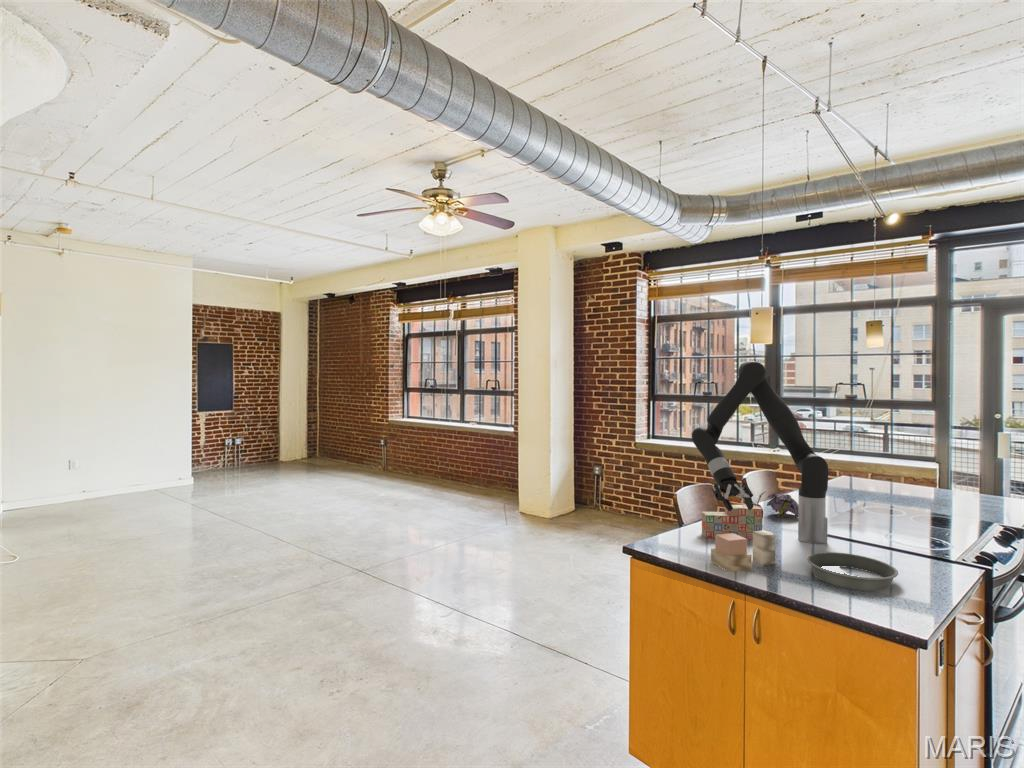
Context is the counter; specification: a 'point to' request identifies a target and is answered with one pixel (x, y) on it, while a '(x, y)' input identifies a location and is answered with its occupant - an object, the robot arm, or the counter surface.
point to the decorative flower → (783, 504)
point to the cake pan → (855, 562)
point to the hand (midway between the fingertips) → (741, 509)
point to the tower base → (731, 561)
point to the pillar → (764, 547)
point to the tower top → (731, 544)
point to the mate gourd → (760, 505)
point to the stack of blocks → (732, 522)
